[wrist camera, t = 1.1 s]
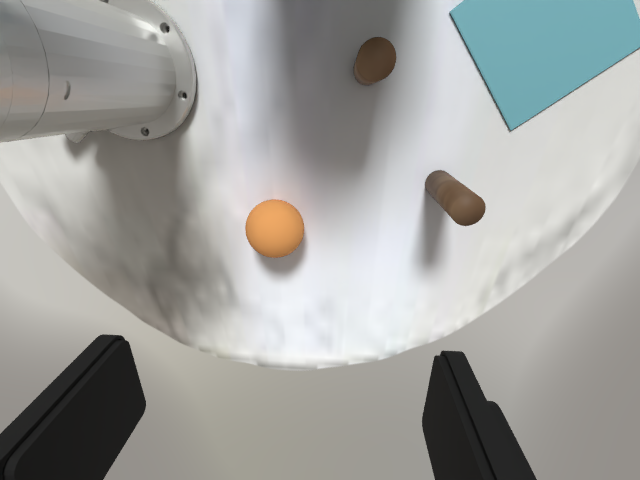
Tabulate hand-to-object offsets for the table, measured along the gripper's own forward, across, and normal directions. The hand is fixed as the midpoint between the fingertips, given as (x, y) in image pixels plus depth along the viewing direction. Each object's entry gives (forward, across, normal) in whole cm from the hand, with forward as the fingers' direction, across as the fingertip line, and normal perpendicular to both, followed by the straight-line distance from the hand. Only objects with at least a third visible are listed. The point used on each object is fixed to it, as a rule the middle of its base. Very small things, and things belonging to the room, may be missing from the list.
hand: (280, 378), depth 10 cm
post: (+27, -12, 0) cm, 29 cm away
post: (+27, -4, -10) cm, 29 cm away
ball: (+24, +5, +5) cm, 25 cm away
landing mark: (+27, -19, -14) cm, 35 cm away
